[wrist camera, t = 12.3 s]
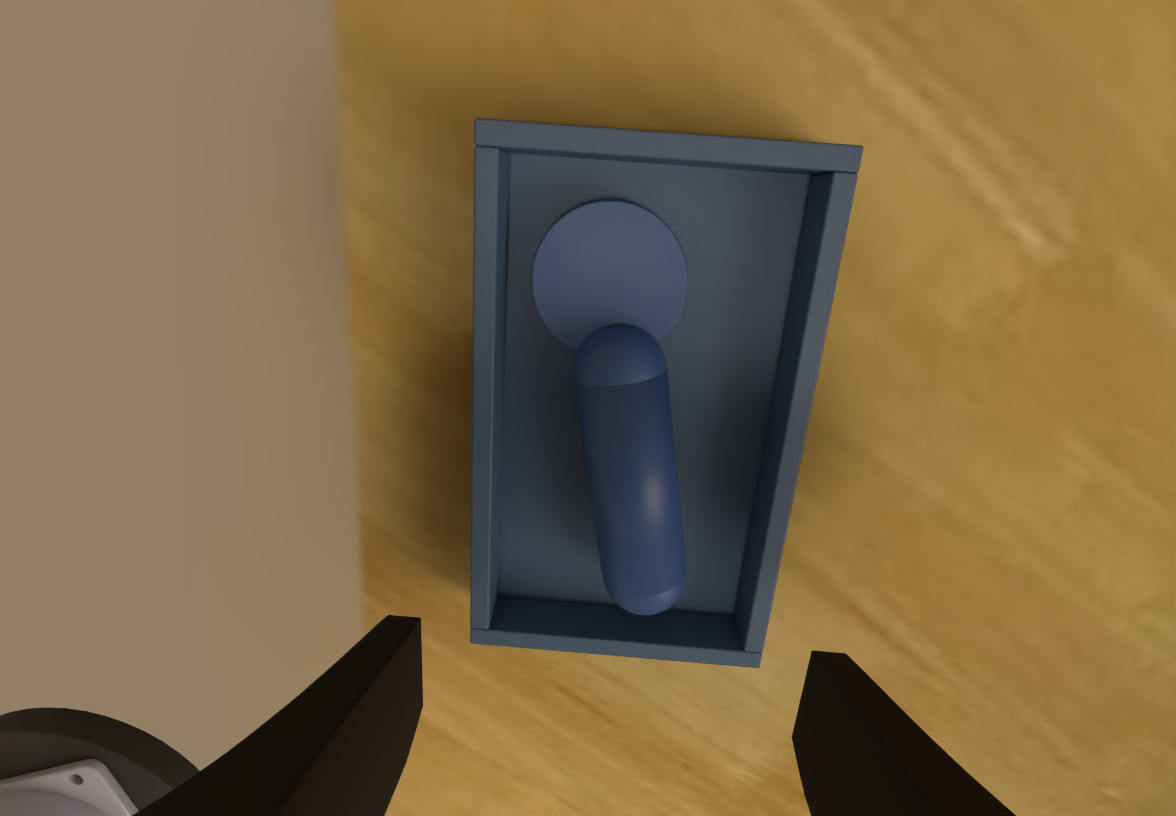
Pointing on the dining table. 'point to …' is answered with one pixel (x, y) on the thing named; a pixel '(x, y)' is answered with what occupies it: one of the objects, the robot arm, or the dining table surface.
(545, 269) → the blue spoon
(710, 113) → the dining table surface
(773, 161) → the tray
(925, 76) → the dining table surface
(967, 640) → the dining table surface
